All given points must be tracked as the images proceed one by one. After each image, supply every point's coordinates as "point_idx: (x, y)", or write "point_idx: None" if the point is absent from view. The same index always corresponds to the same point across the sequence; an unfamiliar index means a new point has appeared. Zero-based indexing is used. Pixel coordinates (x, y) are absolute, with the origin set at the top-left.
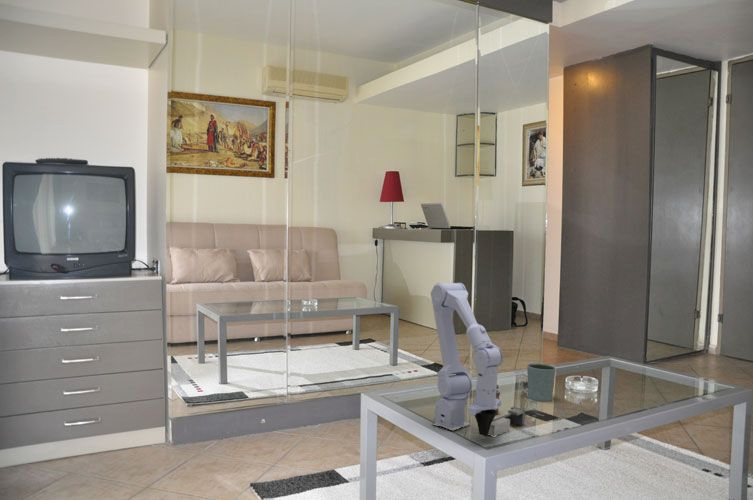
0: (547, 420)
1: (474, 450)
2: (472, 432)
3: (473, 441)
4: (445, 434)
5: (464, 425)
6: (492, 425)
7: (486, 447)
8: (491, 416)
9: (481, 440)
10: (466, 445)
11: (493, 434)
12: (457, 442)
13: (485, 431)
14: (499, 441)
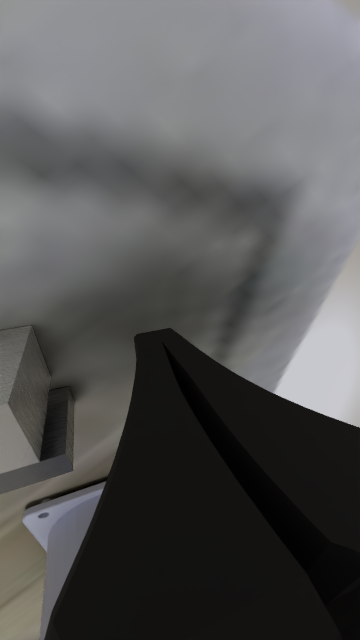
0: None
1: (348, 233)
2: (103, 431)
3: (224, 333)
4: None
5: (83, 498)
6: (20, 419)
7: (262, 217)
8: (292, 491)
9: (171, 324)
10: (301, 309)
11: (29, 344)
12: (289, 355)
13: (191, 346)
14: (57, 237)
